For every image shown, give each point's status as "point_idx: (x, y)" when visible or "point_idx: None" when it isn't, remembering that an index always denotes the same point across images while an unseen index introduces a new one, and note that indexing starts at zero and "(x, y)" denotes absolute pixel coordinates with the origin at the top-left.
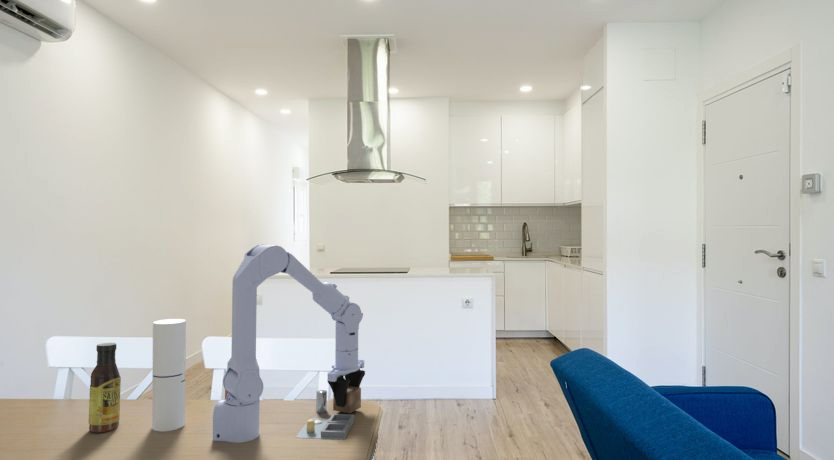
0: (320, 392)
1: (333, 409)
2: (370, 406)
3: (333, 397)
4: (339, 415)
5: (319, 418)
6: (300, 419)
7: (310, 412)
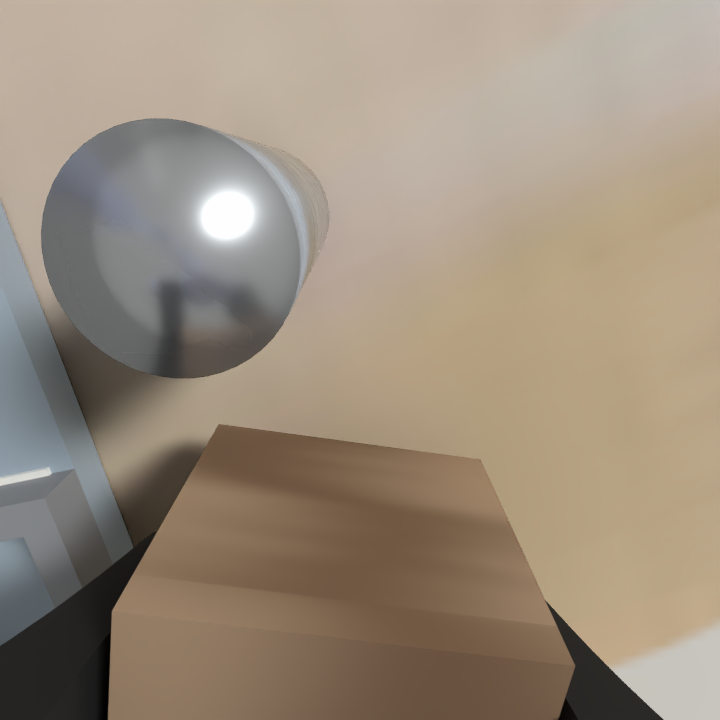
0: (96, 259)
1: (216, 431)
2: (685, 611)
3: (163, 521)
4: (46, 587)
5: (15, 321)
6: (28, 13)
7: (313, 12)
